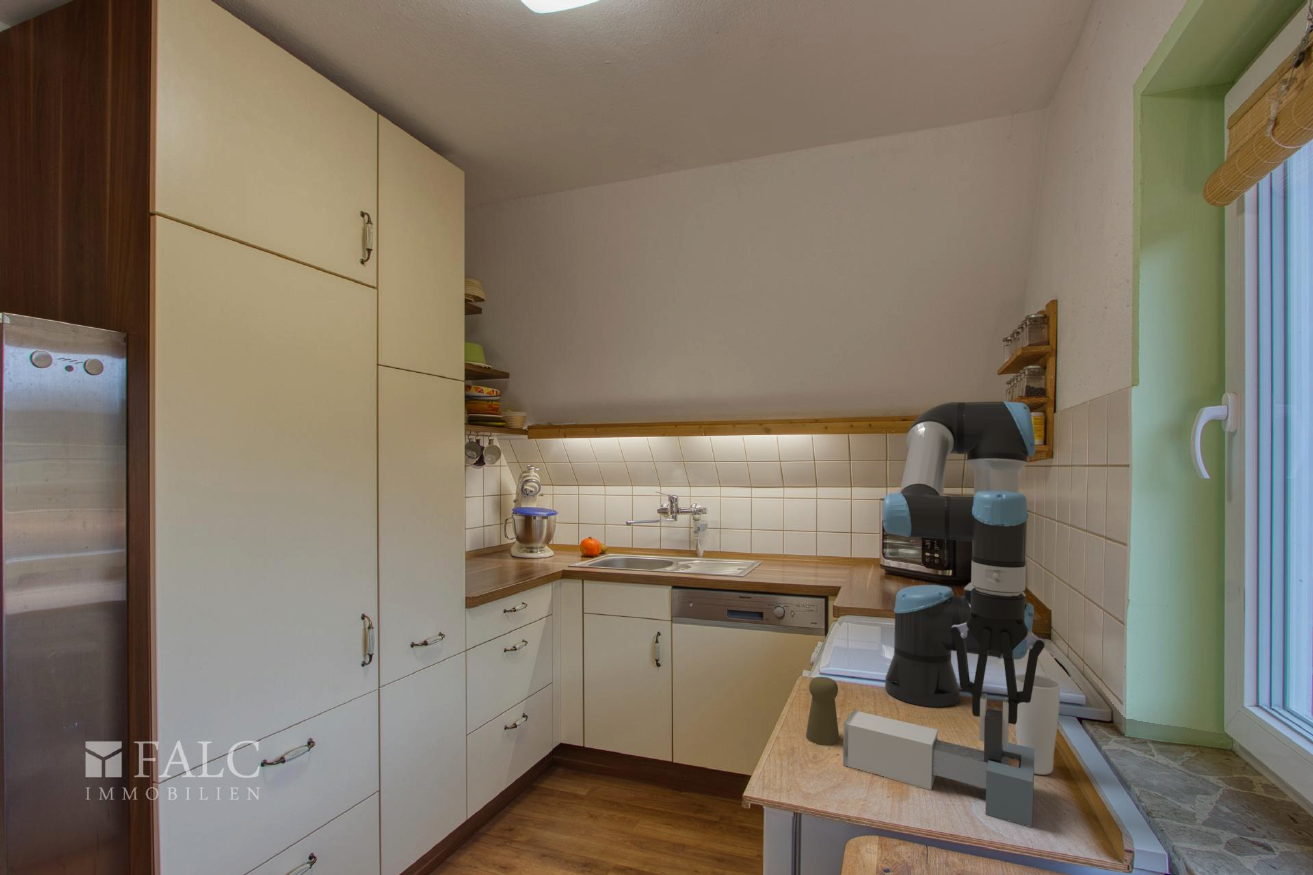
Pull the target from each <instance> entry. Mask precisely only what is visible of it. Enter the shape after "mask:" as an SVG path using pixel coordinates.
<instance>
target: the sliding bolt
mask: <svg viewBox="0 0 1313 875" xmlns="http://www.w3.org/2000/svg"><path fill="white" fill-rule="evenodd" d="M1002 721H1003V710H998V709H994V708H989V707H987V710H986V714H985V729H984V741H983V742H984V743H983V746H984V747H983V750H981V749H977V748H974V747H969V746H965V745H960V744H956V743H953V742H949V741H948V742H947V741H944V740H940V739H938V740H935V743H934V746H933V753H932V774H934V775H936V776H938V777H942V778H946V779H950V780H952V781H958V782H960V783H964V784H968V785H972V786H976V787H980V788H983V789H986V770H987V765H988V760H989V761H993V762H997V763H1001V764H1005V765H1009V766H1014V767H1018V768H1019V761H1020V759H1017V758H1013V757H1007V756H1003V745H1002Z"/></svg>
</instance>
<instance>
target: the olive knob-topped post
mask: <svg viewBox="0 0 1313 875" xmlns="http://www.w3.org/2000/svg"><path fill="white" fill-rule="evenodd" d="M808 689H809V693H810V695H811V702H810V706H809V707H810V708H809V715H808V721H807V726H806V733H805V737H806V739H807V740H808V742H811V743H812V742H813V744H815V743H816V744H815V745H818V746H823V745H830V746H835V745H838V744H839V742H840V734H839V726H838V723H839V722H838V716H837V706H836V698H837V696H838V694H839V693H838V692H839V686H838V684H837V682H836V681H835V679H832V678H830V677H827V676H815V677H812V679H811V680H810V681H809V685H808Z"/></svg>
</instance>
